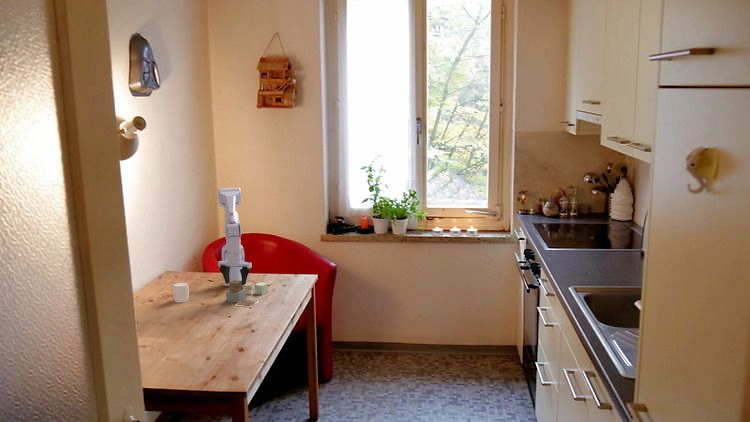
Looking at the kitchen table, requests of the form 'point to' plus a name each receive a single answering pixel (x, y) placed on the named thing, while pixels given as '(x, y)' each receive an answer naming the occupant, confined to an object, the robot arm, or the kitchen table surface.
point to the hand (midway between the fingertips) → (235, 283)
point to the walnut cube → (236, 286)
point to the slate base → (236, 296)
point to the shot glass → (181, 292)
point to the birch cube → (248, 287)
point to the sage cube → (261, 288)
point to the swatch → (247, 303)
